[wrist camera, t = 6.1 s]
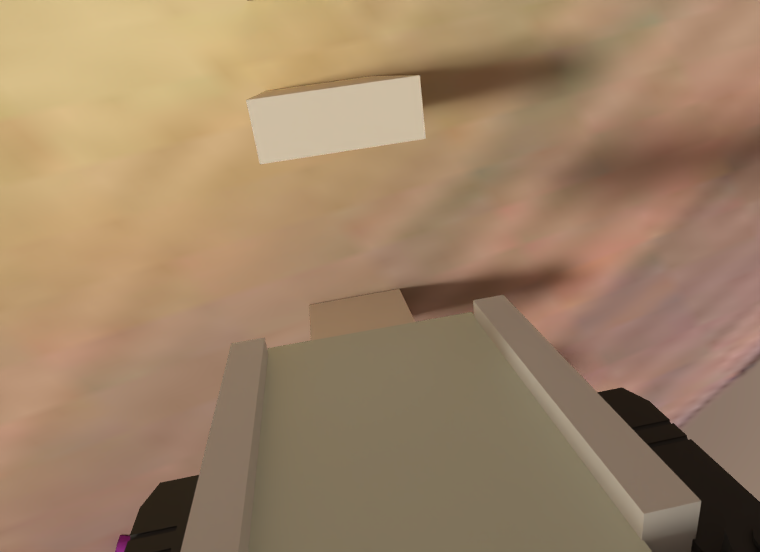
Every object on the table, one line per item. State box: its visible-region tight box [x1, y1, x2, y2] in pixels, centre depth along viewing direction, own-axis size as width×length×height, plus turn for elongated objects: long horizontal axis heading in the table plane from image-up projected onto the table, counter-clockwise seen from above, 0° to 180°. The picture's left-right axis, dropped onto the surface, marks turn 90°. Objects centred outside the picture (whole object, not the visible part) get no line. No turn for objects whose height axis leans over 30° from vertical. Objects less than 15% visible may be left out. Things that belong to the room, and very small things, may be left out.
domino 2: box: [309, 289, 415, 340], centre depth 24 cm, size 2×5×10 cm, turn 97°
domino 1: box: [246, 75, 426, 164], centre depth 20 cm, size 2×5×10 cm, turn 97°
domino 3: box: [248, 312, 652, 552], centre depth 8 cm, size 2×5×10 cm, turn 97°
